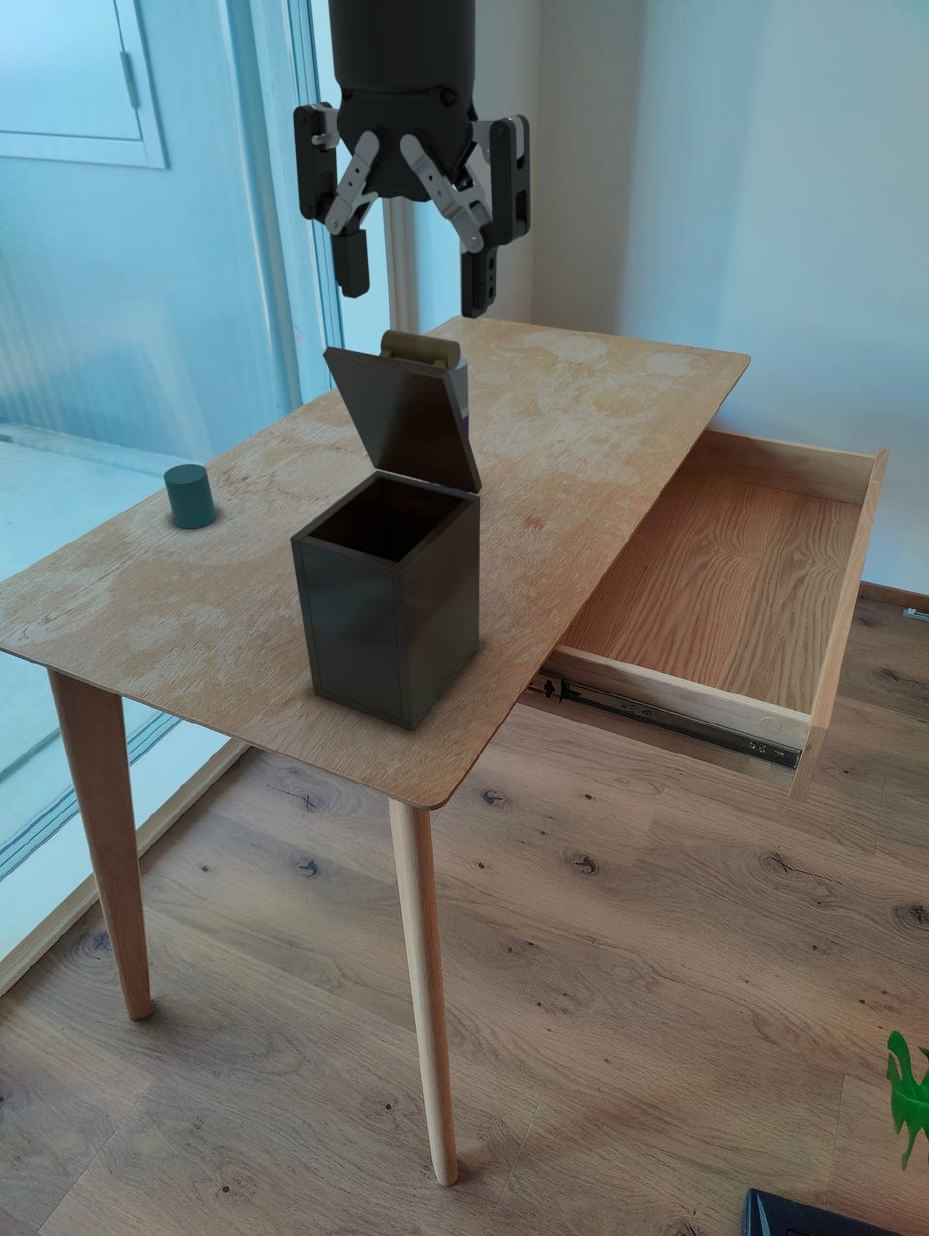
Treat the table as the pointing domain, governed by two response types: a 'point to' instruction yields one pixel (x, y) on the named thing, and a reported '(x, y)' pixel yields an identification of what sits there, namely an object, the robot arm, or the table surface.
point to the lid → (408, 408)
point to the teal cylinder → (190, 495)
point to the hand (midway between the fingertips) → (414, 304)
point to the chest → (390, 595)
